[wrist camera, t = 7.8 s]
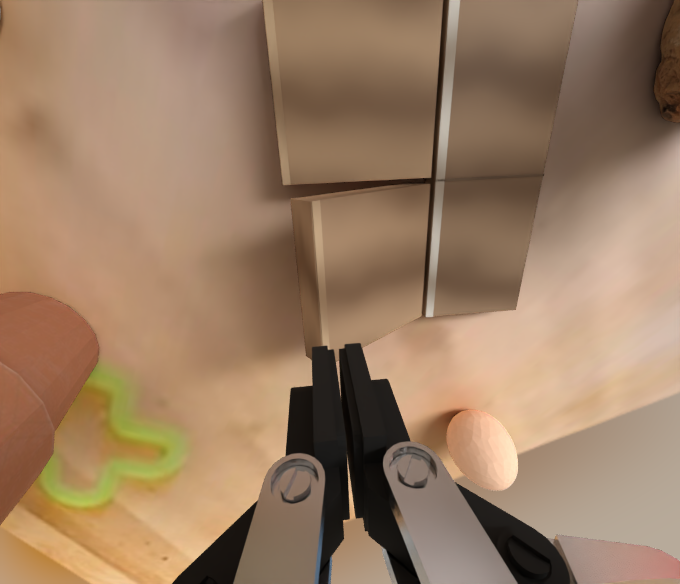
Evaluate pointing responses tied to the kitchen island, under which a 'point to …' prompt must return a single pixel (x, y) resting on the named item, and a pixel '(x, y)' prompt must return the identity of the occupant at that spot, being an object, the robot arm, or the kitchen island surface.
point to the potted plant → (36, 384)
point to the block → (669, 67)
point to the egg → (482, 449)
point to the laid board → (490, 147)
